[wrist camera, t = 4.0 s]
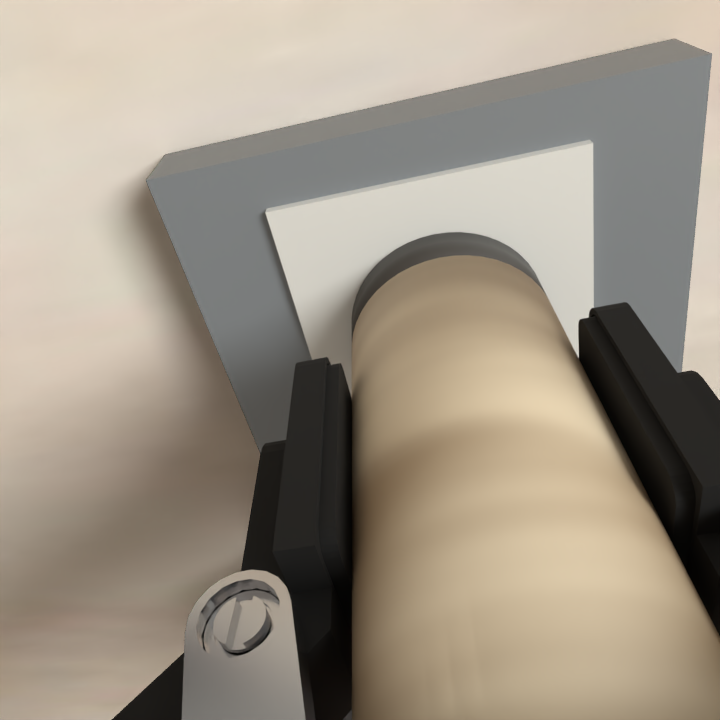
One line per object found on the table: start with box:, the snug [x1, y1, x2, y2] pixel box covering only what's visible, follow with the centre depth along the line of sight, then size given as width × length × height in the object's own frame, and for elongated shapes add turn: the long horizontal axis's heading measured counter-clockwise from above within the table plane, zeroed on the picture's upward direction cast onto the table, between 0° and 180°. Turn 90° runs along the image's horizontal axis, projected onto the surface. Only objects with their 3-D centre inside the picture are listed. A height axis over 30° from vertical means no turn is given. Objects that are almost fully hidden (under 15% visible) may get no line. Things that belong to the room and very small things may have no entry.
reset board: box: [146, 39, 712, 720], centre depth 15 cm, size 21×10×8 cm, turn 12°
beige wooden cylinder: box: [352, 232, 720, 720], centre depth 9 cm, size 4×4×10 cm
